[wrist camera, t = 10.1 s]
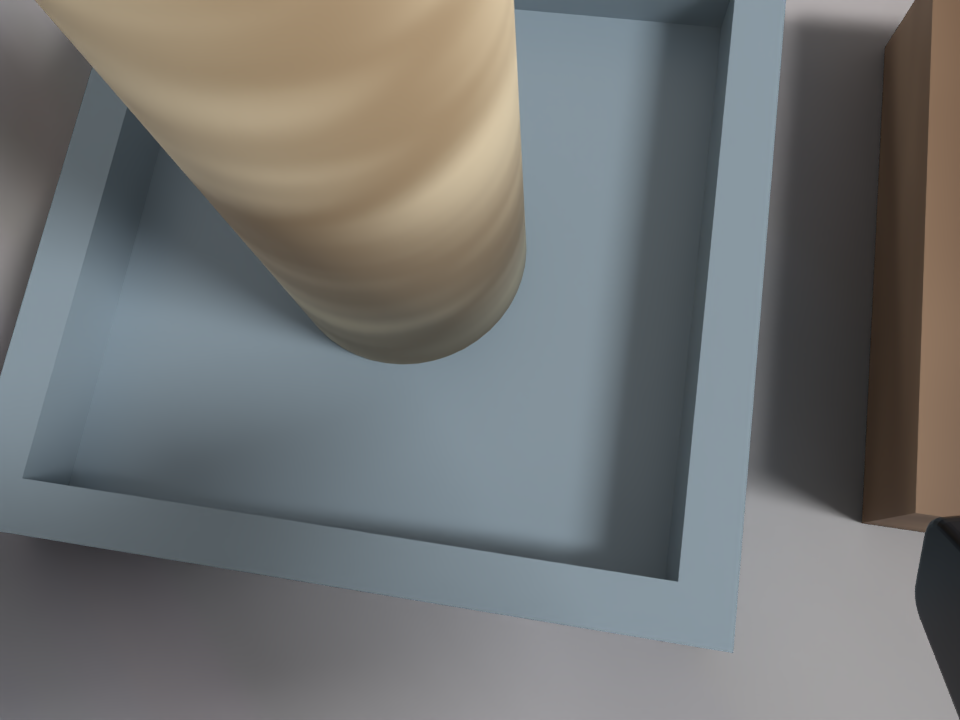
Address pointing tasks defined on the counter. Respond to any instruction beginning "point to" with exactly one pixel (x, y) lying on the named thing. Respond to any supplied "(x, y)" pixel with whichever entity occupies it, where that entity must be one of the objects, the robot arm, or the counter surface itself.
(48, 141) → the counter surface
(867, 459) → the socket block
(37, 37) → the counter surface
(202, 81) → the dowel
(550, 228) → the tray
